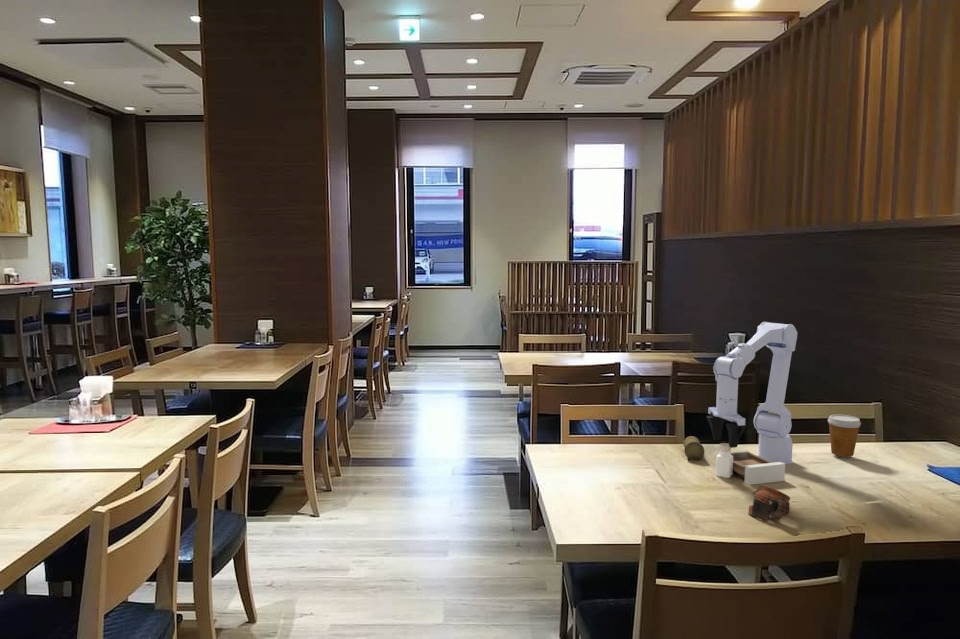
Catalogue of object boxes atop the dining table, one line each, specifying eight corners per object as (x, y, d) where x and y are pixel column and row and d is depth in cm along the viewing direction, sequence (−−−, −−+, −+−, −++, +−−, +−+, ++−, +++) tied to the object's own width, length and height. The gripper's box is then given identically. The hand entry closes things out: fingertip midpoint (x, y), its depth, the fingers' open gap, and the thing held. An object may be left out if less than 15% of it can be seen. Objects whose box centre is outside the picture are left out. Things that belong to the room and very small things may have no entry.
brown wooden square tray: (749, 464, 203) (750, 450, 202) (774, 476, 192) (775, 461, 192) (718, 468, 200) (719, 453, 199) (742, 480, 189) (743, 465, 189)
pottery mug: (738, 510, 168) (749, 480, 169) (770, 526, 169) (781, 496, 170) (764, 519, 156) (776, 487, 157) (798, 536, 157) (810, 503, 158)
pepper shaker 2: (729, 479, 191) (730, 447, 190) (715, 476, 193) (716, 445, 192) (732, 475, 194) (734, 444, 193) (719, 472, 196) (720, 441, 195)
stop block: (779, 478, 191) (780, 461, 191) (784, 480, 189) (785, 463, 189) (744, 482, 188) (745, 465, 187) (749, 484, 186) (749, 467, 185)
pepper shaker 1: (685, 461, 208) (683, 452, 219) (705, 459, 207) (702, 450, 217) (683, 442, 208) (680, 434, 219) (703, 440, 207) (699, 432, 217)
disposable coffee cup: (865, 458, 209) (867, 421, 208) (835, 458, 209) (837, 421, 208) (849, 449, 219) (851, 414, 217) (820, 449, 219) (822, 414, 218)
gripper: (700, 393, 198) (698, 437, 199) (731, 404, 184) (728, 451, 185) (720, 392, 200) (718, 436, 201) (752, 402, 186) (750, 449, 187)
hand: (725, 443), depth 193 cm, fingers open, 7 cm apart
